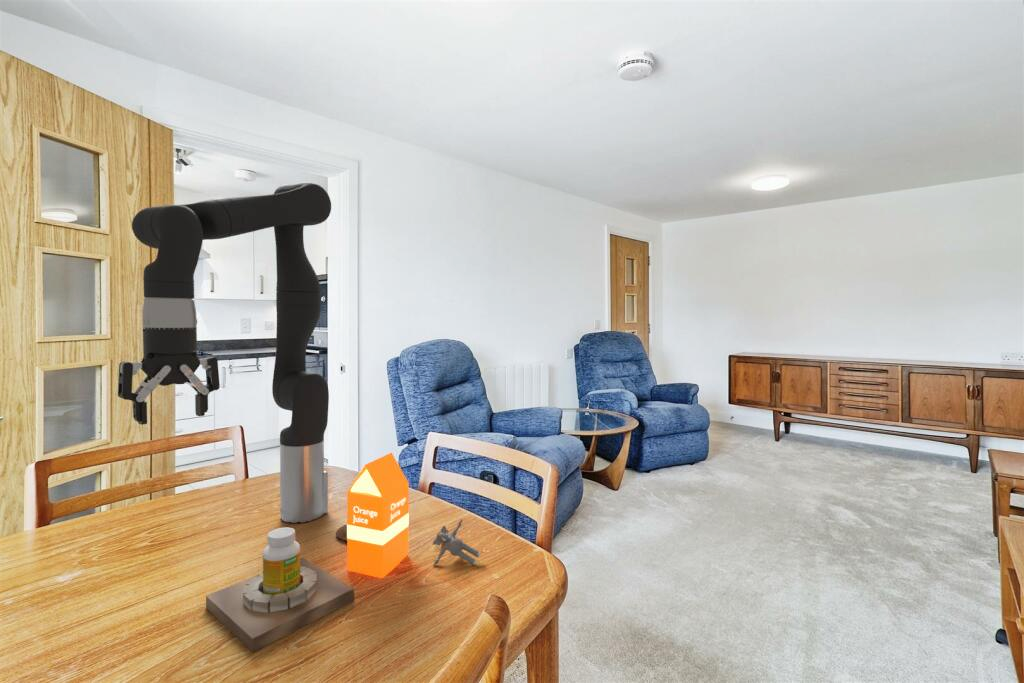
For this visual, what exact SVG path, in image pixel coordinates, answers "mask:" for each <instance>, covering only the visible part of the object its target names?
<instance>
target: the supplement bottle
mask: <svg viewBox="0 0 1024 683" xmlns="http://www.w3.org/2000/svg"><path fill="white" fill-rule="evenodd" d="M266 541H267V546H266V547H265V548H264V549H263V552H262V573H263V594H269V595H276V594H282V593H287V592H289V591H291V590H293V589H296V588H297V587H298V586H299V585H300V558H301V545H300V543H299V542H298V541H296V530H295V529H294V528H293V527H290V526H289V527H284V526H283V527H278V528H275V529H273V530H270V531H269V532H268V533H267V540H266Z"/></svg>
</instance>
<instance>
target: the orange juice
mask: <svg viewBox="0 0 1024 683" xmlns="http://www.w3.org/2000/svg"><path fill="white" fill-rule="evenodd" d="M409 490H410V482H409V481H408V480H407V477H406V476H405V474H404V472H403V470H402V469H401V466H400V465H399V463H398V461H397V460H396V457H395V456H394V454H393V452H390V453H387V454H385V455H382V456H381V457H378V458H377V459H375V460H373V461H370V462H368V463H366V464H365V465H364V466H363V467H362V469H361V470H360V472H359V473H358V475H357V476H356V478H355V479H354V481H353V482H352V484H351V486H350V487H349V489H348V490H347V492H346V497H347V500H346V503H347V505H346V506H347V508H346V510H347V513H346V514H347V516H346V517H347V518H346V520H347V522H346V524H347V540H346V541H347V542H346V544H347V545H346V547H347V548H346V549H347V550H346V552H347V554H346V556H347V557H346V558H347V559H346V561H347V564H346V566H347V567H346V570H347V571H348V572H354V573H357V574H362V575H366V576H370V577H375V578H380V579H383V578H385V577H386V576H387V575H388V574H390V572H392V571H393V570H394V569H395V568H397V566H398V565H400V564H401V563H402V562H403V561H404V560H405V559H406V558H407V557H406V556H407V555H408V556H409V524H410V523H409V522H410V521H409V520H410V512H409V508H410V507H409V506H410V505H409V504H410V503H409V502H410V501H409V500H410V496H409V495H410V494H409V492H410V491H409ZM405 557H406V558H405ZM404 558H405V559H404ZM403 559H404V560H403ZM402 560H403V561H402ZM401 561H402V562H401ZM400 562H401V563H400Z"/></svg>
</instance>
